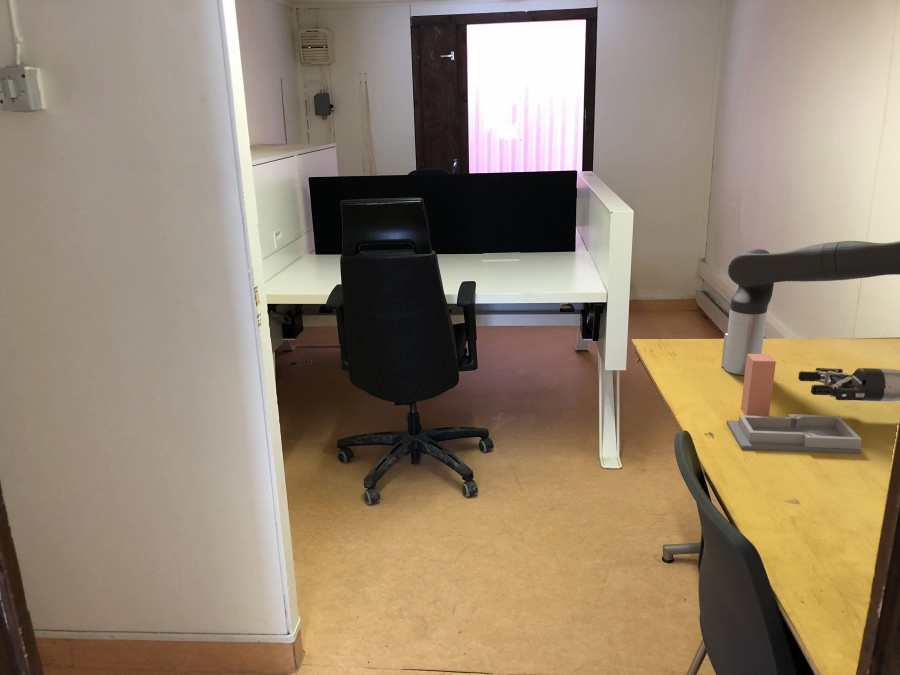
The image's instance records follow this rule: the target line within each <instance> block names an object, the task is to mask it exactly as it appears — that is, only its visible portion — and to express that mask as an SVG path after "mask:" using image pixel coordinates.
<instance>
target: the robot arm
mask: <svg viewBox="0 0 900 675" xmlns="http://www.w3.org/2000/svg"><path fill="white" fill-rule="evenodd" d="M727 274H728V276H729V278H730V280H731V281H732V282H733V283H735V284H736V285H738V288H737V290H736V292H735V293H734V294H733V296H732V298H731V300H730V306H729V315H728V325H727V332H726V333H724V336H723V343H722V344H723V346H722V356H721V363H720V364H721V365H720V366H721V367H722V368H723V369H724V370H725V371H726V372H728V373H730V374H733V375H738V376H745V368H746V359H747V354H763V349H764V348H763V347H764V339H765V330H766V324H767V323H766V322H767V313H768V307H769V304H770V303H771V299H772V296H773V292H774V283H782V282H803V283H804V282H834V281H847V280H848V281H849V280H855V279H856V280H857V279H864V278H865V279H866V278H867V279H868V278H872V277H873V278H874V277H879V276H891V275H892V276H894V275H897V276H899V275H900V241H899V240H898V241H893V242H870V241H860V240H844V241H843V240H842V241H833V242H825V243H819V244H813V245H808V246H805V247H804V246H803V247H800V248H796V249H792V250H788V251H784V252H782V251H781V252H774V253H773V252H772V253H771V252H769V251H767V250H766V249H762V248H755V249H751V250H748V251H745V252H741V253H739V254H737V255H736V256H735V257H733V259H732V260H730V263H729V264H728V268H727ZM797 380H799V381H800V382H817V383H821V384H812V385H811V387H810V393H811V395H813V396H814V395H815V396H829V397H832V398H834V399H835V401H836V400H837V401H860V402H861V401H862V402H900V369H893V368H881V367H879V368H873V367H858V368H857V369H855V370H854V372H853V373H852V374H849V373H847V372H844V369H842V368H831V367H830V368H828V367H827V368H825V367H816V368H815V371H803V370H801V371H799V372H798V378H797Z"/></svg>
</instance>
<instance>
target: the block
mask: <svg viewBox="0 0 900 675" xmlns="http://www.w3.org/2000/svg"><path fill="white" fill-rule="evenodd" d="M776 362H777V361H776V359H775V358H774V357H773V356H772V355H771V354H770V353H762V354H747V359H746V368H745V375H743V376H744V377H743V387H742V395H741V401H740V402H741V404H740V410H741V412H742V413H743V415H745V416H770V409H771V403H772V395H773V386H774V381H775V380H774V378H775V371H776V365H777V364H776Z"/></svg>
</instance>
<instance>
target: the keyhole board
mask: <svg viewBox="0 0 900 675" xmlns="http://www.w3.org/2000/svg"><path fill="white" fill-rule="evenodd" d="M726 425H727V427H728V429H729V431H730V432H731V434H732V436H733V437H734V440H735V441H736V443H737V445H739V448H740V450H757V451H762V450H763V451H783V452H785V451H786V452H787V451H788V452H808V453H809V452H811V453H812V452H813V453H815V452H816V453H839V454H861V452H862V449H861V447H862V438H861V437H860V436H859V435H858V433H856V432H855V430H854V429H853V428H852V427H851V426H850V425H849V424H848V423H847V422H846V421H845V420H844V419H843V418H842V417H841V416H840V415H824V414H822V415H821V414H820V415H818V414H798V413H797V414H796V413H794V414H790V413H788V414H787V416H777V415H776V416H775V415H774V416H771V415H769V416H745V414H743V415H738V419H737V420H735V419H734V420H733V419H732V420H731V419H727V420H726Z"/></svg>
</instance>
